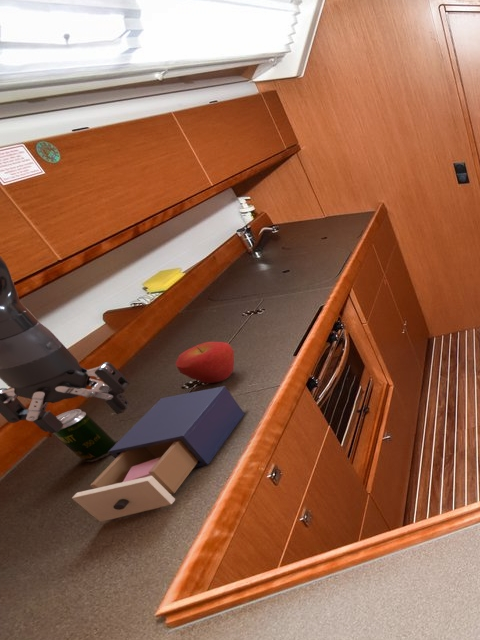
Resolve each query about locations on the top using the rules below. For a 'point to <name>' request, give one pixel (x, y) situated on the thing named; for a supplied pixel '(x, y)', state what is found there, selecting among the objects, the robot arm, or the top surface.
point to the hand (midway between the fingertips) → (91, 419)
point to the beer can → (84, 436)
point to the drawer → (138, 481)
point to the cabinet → (186, 423)
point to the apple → (207, 362)
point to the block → (140, 470)
